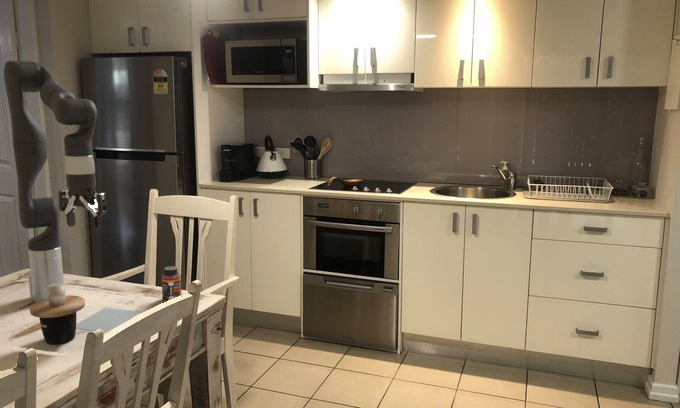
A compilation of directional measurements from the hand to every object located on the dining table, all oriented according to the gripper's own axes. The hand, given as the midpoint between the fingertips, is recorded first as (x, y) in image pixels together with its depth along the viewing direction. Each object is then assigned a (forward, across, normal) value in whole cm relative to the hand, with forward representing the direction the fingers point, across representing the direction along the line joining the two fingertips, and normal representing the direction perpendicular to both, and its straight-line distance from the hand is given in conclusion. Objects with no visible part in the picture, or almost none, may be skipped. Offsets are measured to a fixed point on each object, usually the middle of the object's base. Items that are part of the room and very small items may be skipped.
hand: (84, 227), depth 161 cm
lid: (+18, +3, -16) cm, 24 cm away
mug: (+28, +3, -16) cm, 33 cm away
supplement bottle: (+29, +15, +20) cm, 38 cm away
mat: (+28, +7, 0) cm, 29 cm away
